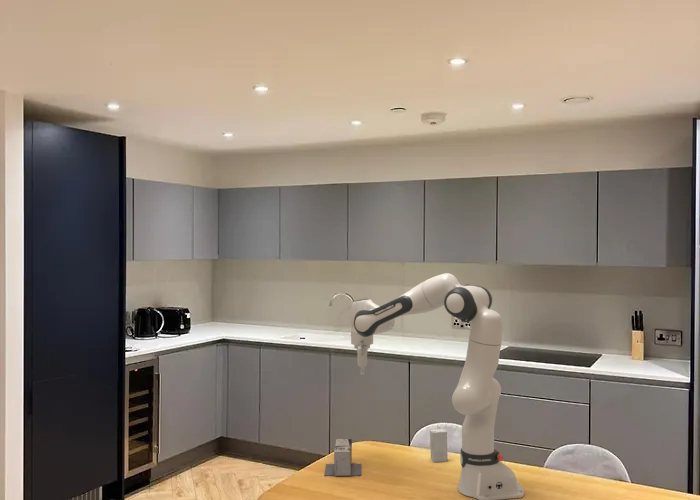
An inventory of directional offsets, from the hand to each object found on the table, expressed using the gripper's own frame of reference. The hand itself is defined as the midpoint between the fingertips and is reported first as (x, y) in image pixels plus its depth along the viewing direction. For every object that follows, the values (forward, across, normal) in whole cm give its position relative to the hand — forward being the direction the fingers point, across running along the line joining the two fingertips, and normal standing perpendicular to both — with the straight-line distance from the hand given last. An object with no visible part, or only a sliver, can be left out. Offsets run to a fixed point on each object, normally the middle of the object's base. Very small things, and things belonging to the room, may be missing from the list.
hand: (362, 374), depth 251 cm
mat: (+35, -9, +8) cm, 37 cm away
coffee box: (+30, -16, +8) cm, 35 cm away
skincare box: (+35, +1, -30) cm, 46 cm away
